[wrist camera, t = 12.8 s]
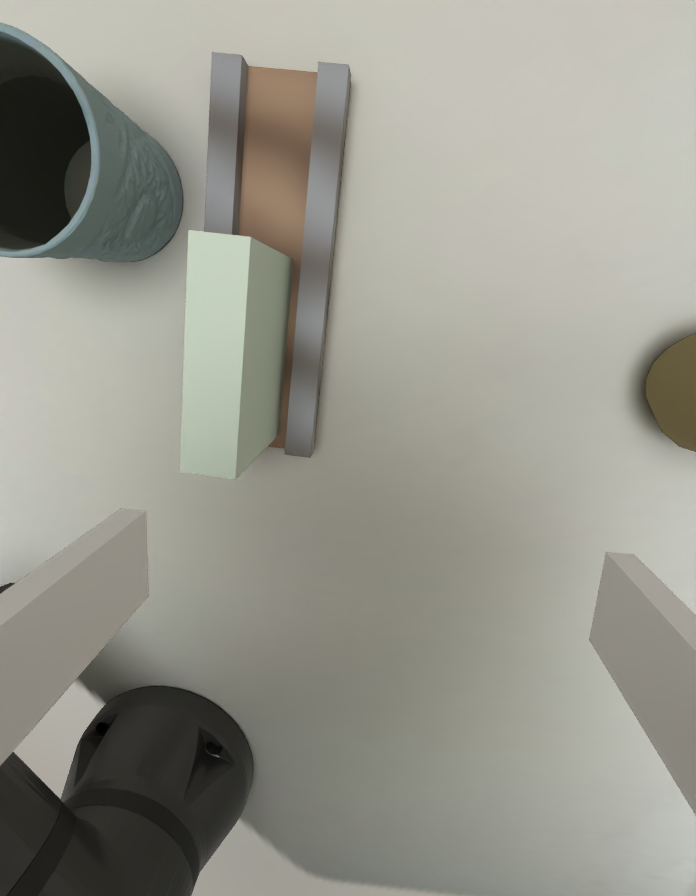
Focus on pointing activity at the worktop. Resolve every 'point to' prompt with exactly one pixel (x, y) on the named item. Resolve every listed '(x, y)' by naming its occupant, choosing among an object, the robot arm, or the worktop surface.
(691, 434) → the squeeze bottle
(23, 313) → the worktop surface
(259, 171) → the track base
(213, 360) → the door panel
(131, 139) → the teal cup
